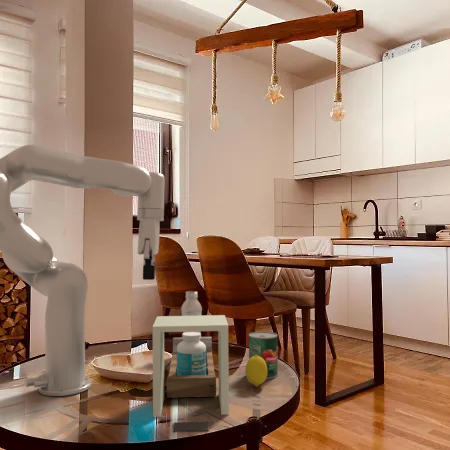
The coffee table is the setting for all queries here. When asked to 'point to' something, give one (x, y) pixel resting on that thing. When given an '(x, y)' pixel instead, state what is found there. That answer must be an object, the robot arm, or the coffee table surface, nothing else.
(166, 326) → the tunnel
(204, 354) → the pill bottle
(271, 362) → the canned tomato
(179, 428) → the mat
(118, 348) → the coffee table surface
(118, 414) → the coffee table surface
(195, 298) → the plastic bottle
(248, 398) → the coffee table surface
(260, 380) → the lemon
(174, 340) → the wooden compartment tray
